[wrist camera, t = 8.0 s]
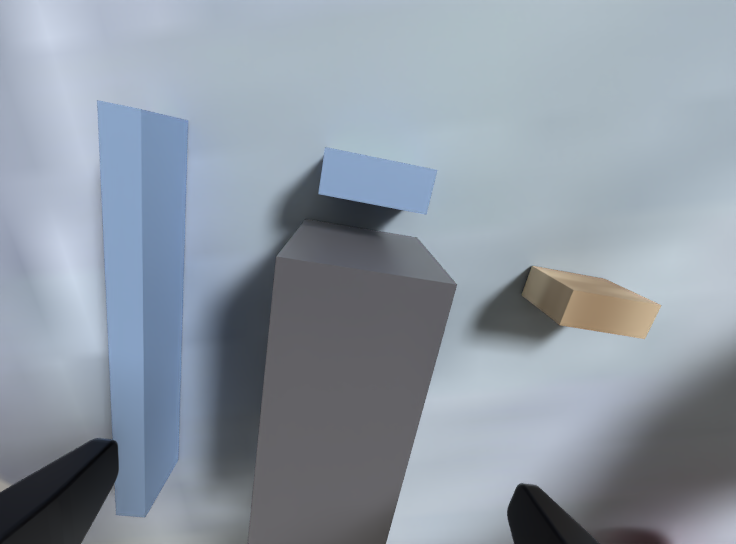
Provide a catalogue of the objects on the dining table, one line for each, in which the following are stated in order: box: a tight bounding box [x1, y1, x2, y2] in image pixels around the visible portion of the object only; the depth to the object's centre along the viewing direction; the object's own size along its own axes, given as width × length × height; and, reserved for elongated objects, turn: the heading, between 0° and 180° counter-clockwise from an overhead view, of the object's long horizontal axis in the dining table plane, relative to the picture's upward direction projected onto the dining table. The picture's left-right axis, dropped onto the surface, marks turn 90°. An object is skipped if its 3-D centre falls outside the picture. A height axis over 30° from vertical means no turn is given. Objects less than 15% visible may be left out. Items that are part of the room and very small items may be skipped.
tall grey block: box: [248, 219, 457, 544], centre depth 11 cm, size 4×9×5 cm, turn 170°
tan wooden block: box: [522, 266, 661, 339], centre depth 10 cm, size 3×14×2 cm, turn 169°
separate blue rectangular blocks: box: [97, 100, 437, 517], centre depth 12 cm, size 8×14×2 cm, turn 169°
